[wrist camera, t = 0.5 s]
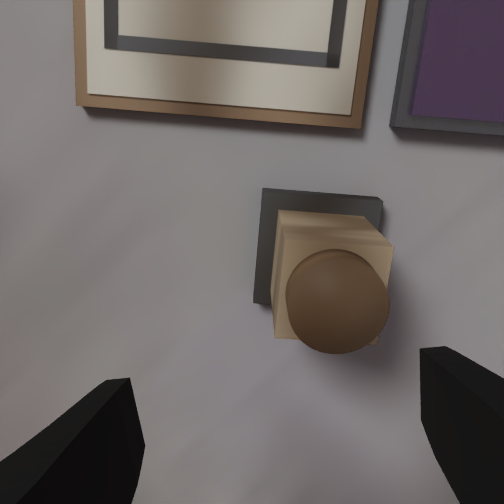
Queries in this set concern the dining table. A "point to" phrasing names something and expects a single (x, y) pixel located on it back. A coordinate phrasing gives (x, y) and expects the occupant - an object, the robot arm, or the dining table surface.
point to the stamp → (323, 268)
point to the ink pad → (452, 67)
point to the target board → (227, 58)
